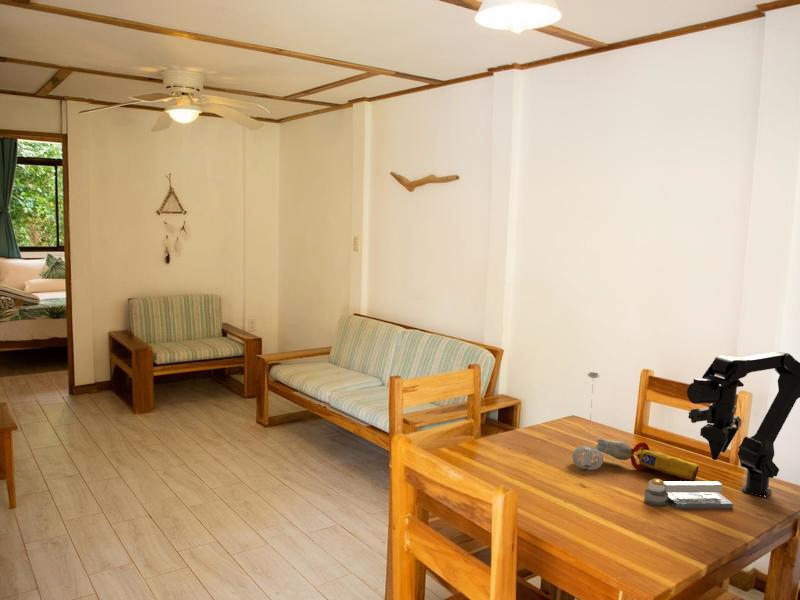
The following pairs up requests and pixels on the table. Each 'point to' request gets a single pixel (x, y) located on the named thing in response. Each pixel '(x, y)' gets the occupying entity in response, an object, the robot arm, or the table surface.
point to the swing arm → (682, 487)
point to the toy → (649, 459)
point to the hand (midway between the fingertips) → (718, 455)
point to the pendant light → (588, 449)
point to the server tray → (699, 500)
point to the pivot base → (656, 499)
